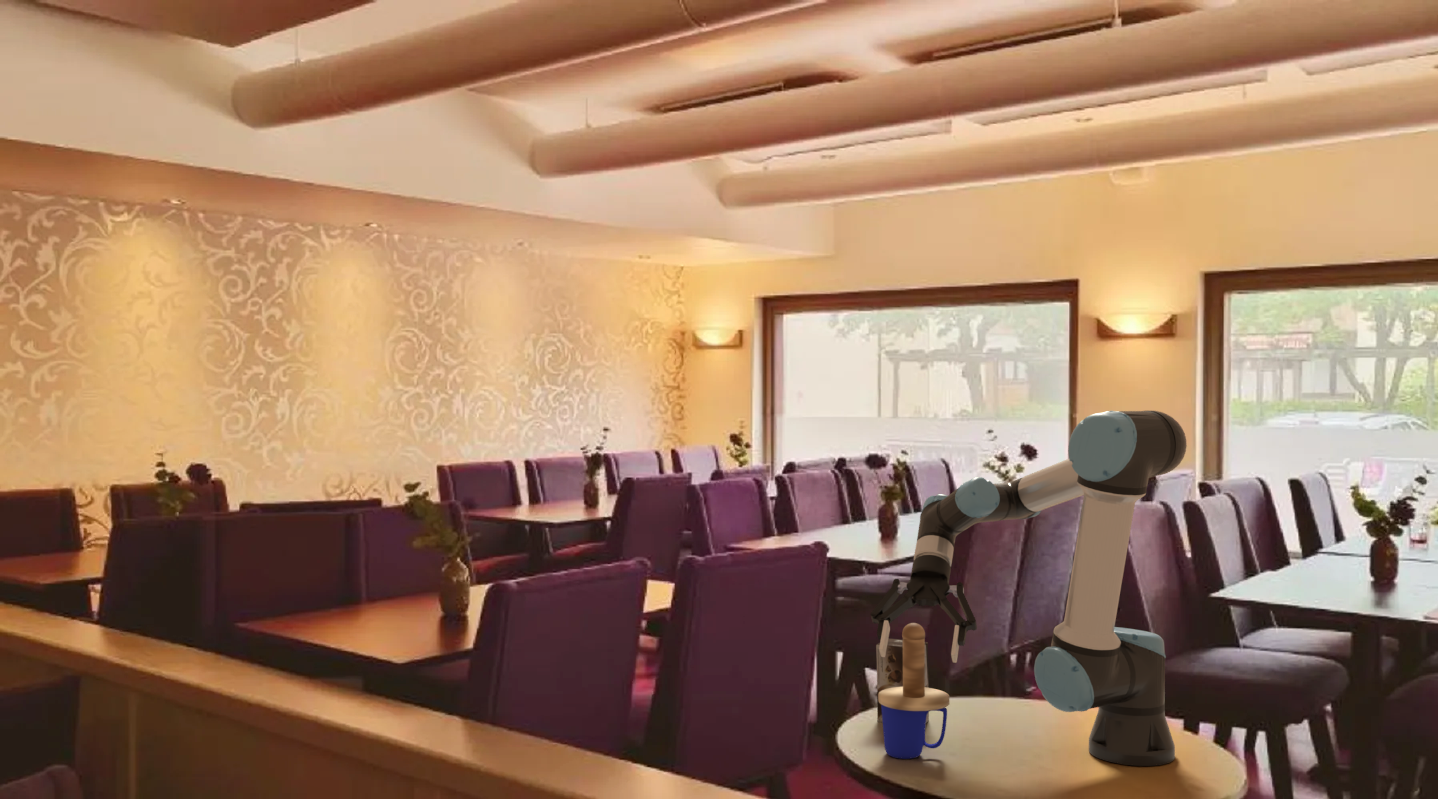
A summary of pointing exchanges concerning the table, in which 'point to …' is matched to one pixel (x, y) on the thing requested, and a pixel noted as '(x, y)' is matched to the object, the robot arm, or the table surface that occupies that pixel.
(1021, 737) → the table surface
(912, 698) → the wooden peg on disc
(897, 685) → the coffee box
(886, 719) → the mug
